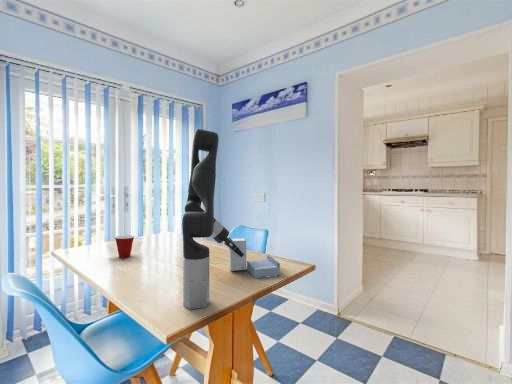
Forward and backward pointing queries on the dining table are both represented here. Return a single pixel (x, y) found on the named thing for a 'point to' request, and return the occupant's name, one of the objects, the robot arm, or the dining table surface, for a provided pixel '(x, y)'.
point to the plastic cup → (124, 245)
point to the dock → (264, 267)
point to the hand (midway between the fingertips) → (240, 254)
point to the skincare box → (234, 258)
